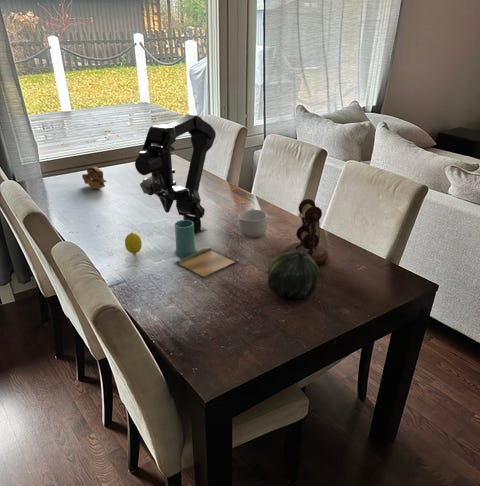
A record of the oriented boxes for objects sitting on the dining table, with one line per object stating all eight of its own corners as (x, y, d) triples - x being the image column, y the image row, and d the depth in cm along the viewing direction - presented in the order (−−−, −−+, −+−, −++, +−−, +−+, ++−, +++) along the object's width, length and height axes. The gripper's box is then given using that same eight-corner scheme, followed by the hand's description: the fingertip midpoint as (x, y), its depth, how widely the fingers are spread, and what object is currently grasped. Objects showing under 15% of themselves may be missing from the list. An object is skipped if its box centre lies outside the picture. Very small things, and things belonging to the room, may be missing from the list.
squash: (267, 259, 135) (270, 240, 121) (314, 262, 135) (324, 243, 121) (265, 303, 131) (269, 289, 117) (314, 306, 131) (324, 292, 117)
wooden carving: (80, 186, 210) (76, 165, 205) (88, 183, 213) (84, 163, 208) (103, 192, 202) (99, 171, 197) (110, 190, 205) (107, 169, 200)
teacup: (264, 241, 159) (265, 221, 155) (235, 238, 161) (235, 218, 157) (269, 226, 171) (270, 207, 166) (242, 224, 172) (243, 205, 168)
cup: (172, 253, 151) (170, 223, 145) (187, 247, 155) (185, 218, 149) (184, 259, 147) (182, 229, 141) (199, 252, 151) (197, 223, 145)
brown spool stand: (333, 267, 143) (341, 209, 132) (290, 270, 141) (294, 212, 130) (319, 247, 155) (325, 193, 145) (279, 250, 153) (282, 195, 143)
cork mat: (176, 263, 144) (176, 260, 144) (208, 249, 153) (207, 246, 152) (203, 277, 137) (203, 274, 136) (235, 262, 145) (235, 259, 144)
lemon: (145, 251, 151) (143, 230, 147) (137, 258, 147) (134, 237, 143) (131, 249, 153) (129, 228, 149) (123, 256, 149) (120, 234, 144)
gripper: (125, 166, 142) (132, 211, 150) (160, 178, 131) (165, 226, 139) (153, 159, 149) (158, 202, 157) (189, 171, 138) (191, 217, 146)
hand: (167, 212), depth 150 cm, fingers closed
